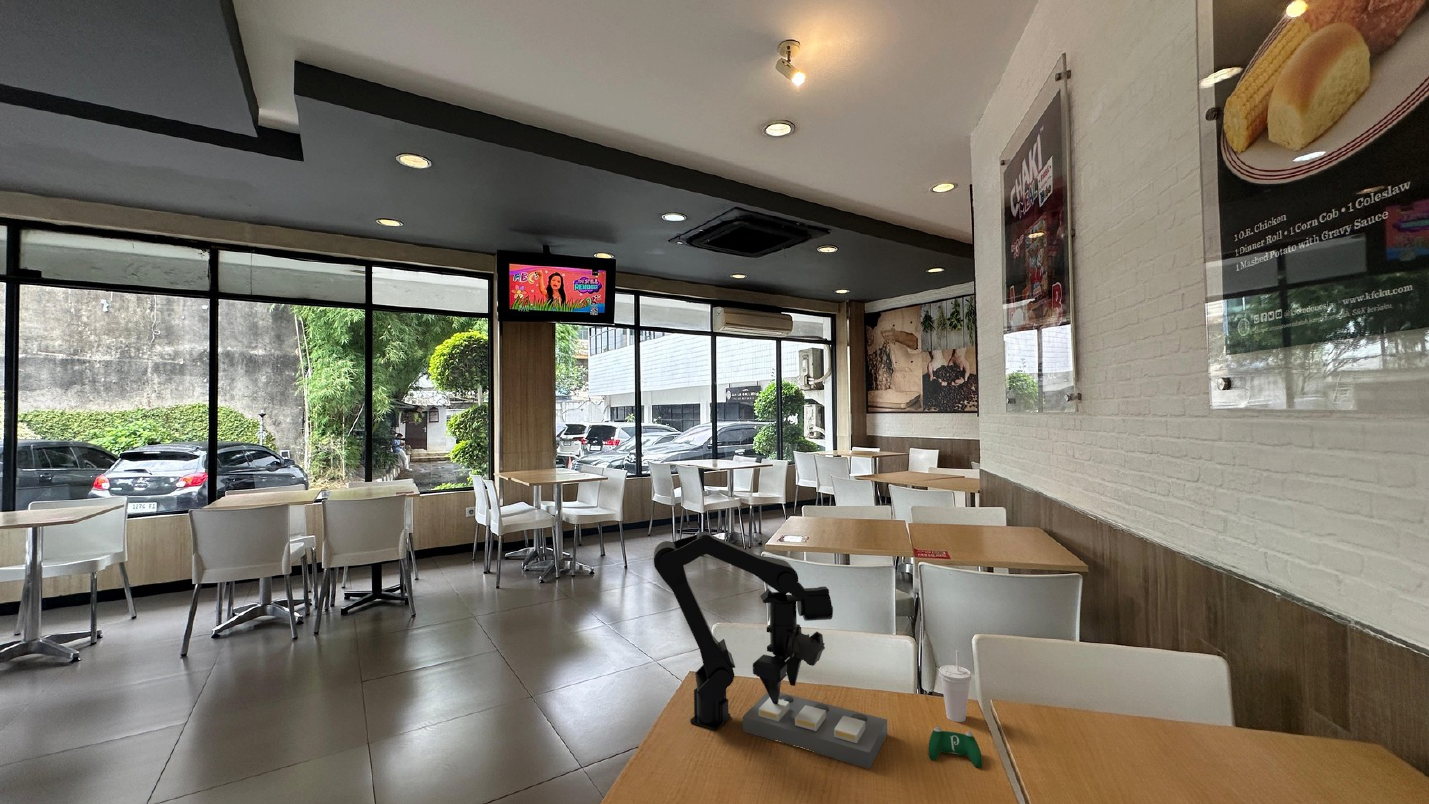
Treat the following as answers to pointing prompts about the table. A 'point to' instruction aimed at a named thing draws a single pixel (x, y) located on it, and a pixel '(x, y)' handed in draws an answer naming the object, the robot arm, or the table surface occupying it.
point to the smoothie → (955, 690)
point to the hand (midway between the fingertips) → (784, 694)
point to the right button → (849, 729)
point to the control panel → (820, 731)
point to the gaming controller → (954, 745)
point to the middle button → (810, 718)
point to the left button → (774, 709)
